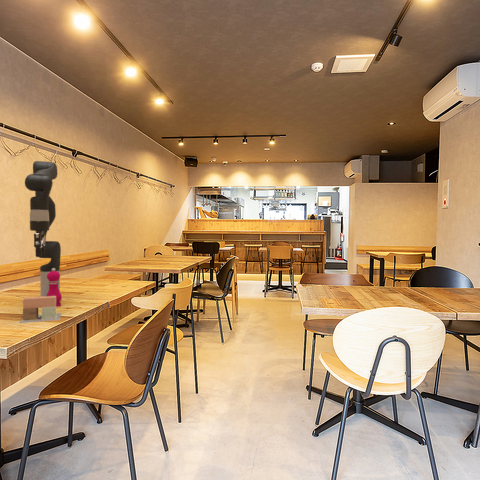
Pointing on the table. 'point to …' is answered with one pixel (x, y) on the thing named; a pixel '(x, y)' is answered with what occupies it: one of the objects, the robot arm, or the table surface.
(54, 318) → the board
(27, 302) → the lintel
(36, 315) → the walnut cube
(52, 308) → the sage cube
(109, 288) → the table surface
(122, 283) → the table surface
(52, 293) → the pepper mill
